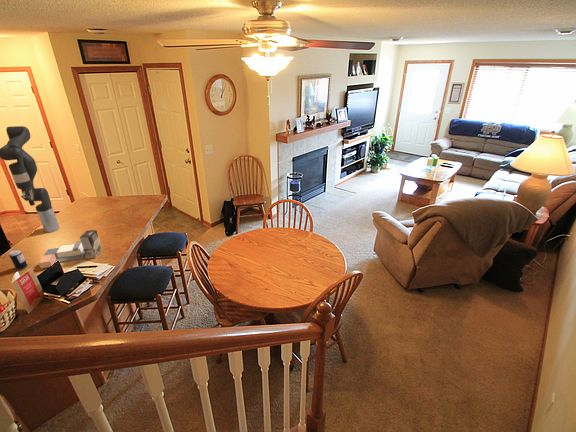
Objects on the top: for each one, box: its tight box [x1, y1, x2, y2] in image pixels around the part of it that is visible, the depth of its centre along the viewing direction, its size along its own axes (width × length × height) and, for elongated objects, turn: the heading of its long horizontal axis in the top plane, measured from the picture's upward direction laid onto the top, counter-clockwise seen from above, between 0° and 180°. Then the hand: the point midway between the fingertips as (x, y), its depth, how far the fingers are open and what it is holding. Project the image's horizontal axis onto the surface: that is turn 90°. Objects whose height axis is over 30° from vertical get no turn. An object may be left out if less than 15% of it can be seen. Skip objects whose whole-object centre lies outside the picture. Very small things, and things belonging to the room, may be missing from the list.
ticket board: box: [38, 240, 86, 267], centre depth 197 cm, size 18×24×6 cm
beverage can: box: [8, 249, 28, 271], centre depth 183 cm, size 6×6×12 cm
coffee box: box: [79, 229, 103, 259], centre depth 196 cm, size 9×6×16 cm
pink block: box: [38, 254, 56, 269], centre depth 187 cm, size 8×6×4 cm
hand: (32, 205), depth 192 cm, fingers closed
